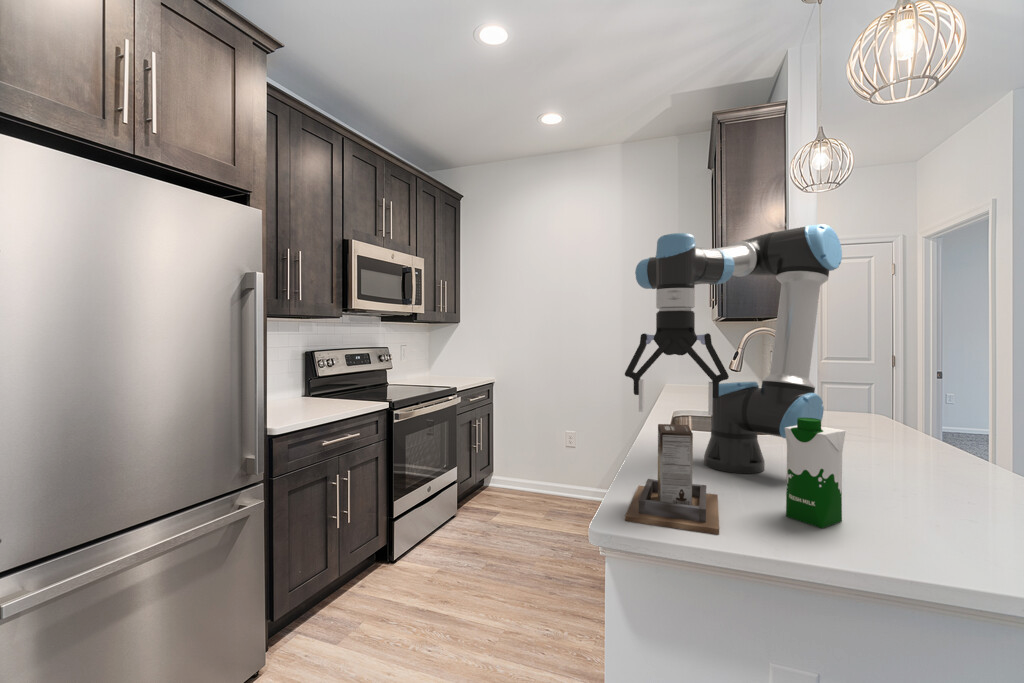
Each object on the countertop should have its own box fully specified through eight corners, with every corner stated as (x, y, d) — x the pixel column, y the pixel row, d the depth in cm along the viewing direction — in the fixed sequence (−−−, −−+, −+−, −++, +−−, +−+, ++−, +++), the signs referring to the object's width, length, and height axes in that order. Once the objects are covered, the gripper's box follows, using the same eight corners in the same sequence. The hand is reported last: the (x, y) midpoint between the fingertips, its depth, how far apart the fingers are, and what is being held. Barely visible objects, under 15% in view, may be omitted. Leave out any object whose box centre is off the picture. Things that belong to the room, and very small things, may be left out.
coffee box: (656, 495, 106) (657, 423, 106) (687, 498, 105) (688, 424, 104) (659, 511, 97) (660, 431, 97) (693, 513, 96) (694, 433, 95)
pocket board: (717, 499, 107) (717, 483, 107) (719, 534, 88) (719, 515, 88) (638, 489, 113) (638, 474, 113) (625, 520, 95) (625, 503, 95)
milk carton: (778, 515, 97) (779, 416, 97) (804, 507, 102) (805, 413, 101) (824, 531, 90) (826, 424, 89) (850, 522, 94) (851, 419, 94)
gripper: (611, 310, 101) (611, 411, 102) (743, 308, 92) (742, 419, 92) (617, 311, 108) (617, 406, 109) (740, 309, 99) (740, 412, 99)
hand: (675, 412), depth 101 cm, fingers open, 13 cm apart
